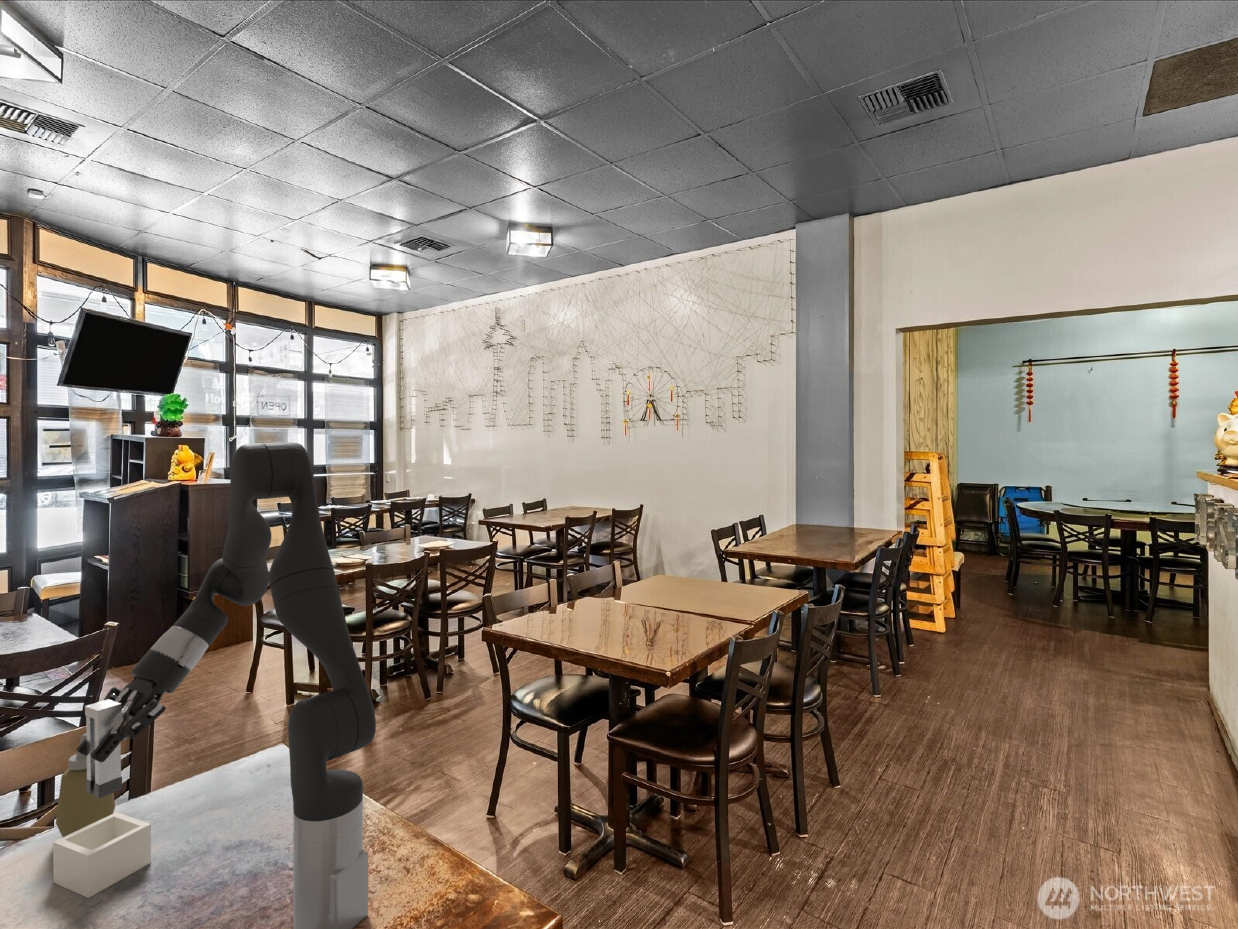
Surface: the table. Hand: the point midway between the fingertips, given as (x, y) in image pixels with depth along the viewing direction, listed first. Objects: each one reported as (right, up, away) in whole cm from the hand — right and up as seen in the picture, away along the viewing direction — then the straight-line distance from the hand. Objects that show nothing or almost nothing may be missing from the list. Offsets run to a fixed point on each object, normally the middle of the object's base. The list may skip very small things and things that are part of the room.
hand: (89, 756), depth 100 cm
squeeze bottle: (-10, -20, +12) cm, 25 cm away
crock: (+1, -20, +2) cm, 20 cm away
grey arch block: (+1, -6, +2) cm, 7 cm away
